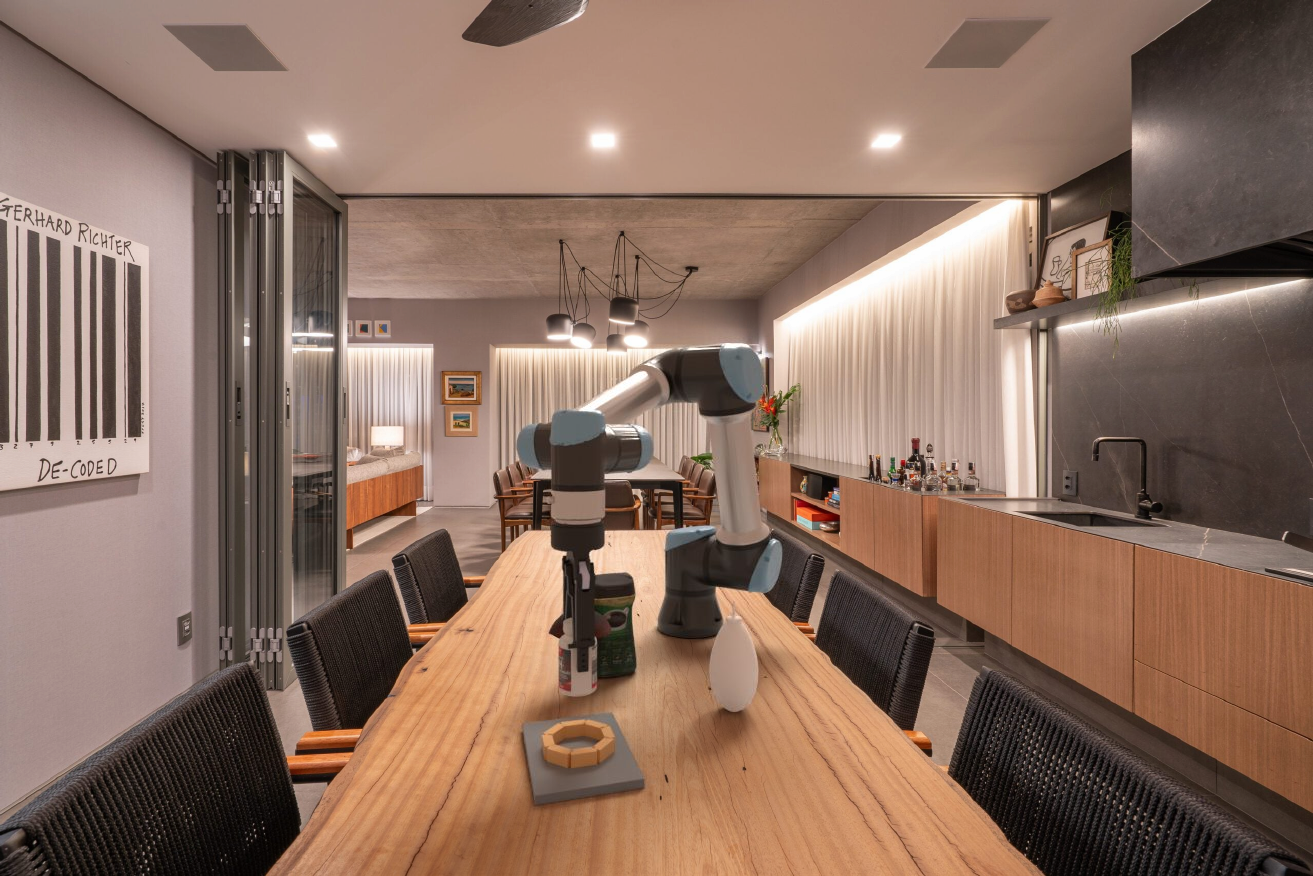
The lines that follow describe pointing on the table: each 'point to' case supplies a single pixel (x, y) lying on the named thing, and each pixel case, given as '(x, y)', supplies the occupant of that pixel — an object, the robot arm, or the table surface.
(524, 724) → the socket board
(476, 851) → the table surface
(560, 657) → the pill bottle
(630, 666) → the coffee jar
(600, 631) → the decorative mushroom
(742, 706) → the sauce bottle
